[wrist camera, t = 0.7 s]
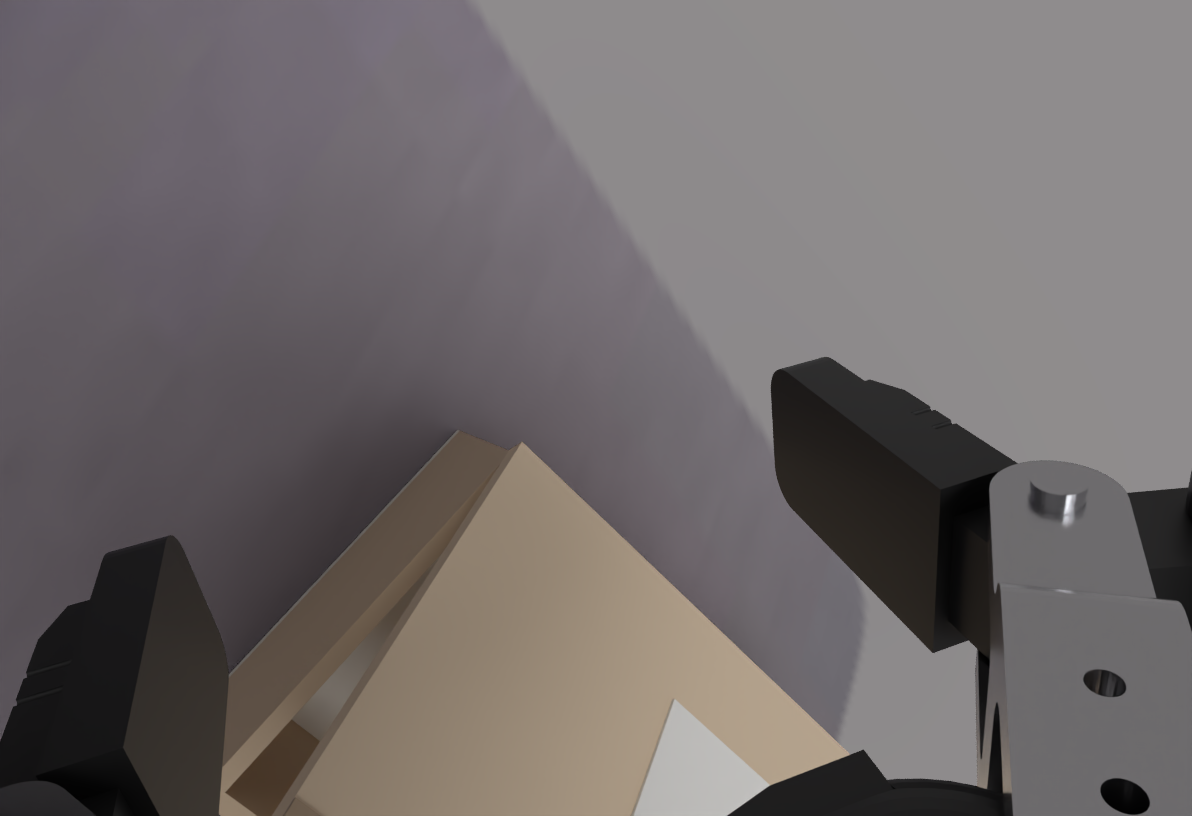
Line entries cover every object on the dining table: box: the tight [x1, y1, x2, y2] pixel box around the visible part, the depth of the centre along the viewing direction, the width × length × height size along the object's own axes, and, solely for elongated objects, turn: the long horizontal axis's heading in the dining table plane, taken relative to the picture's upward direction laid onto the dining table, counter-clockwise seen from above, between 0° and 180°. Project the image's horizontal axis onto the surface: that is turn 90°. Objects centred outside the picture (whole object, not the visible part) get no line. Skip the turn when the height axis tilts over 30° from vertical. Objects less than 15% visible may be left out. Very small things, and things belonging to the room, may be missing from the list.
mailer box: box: [219, 430, 509, 816], centre depth 31 cm, size 17×12×9 cm
